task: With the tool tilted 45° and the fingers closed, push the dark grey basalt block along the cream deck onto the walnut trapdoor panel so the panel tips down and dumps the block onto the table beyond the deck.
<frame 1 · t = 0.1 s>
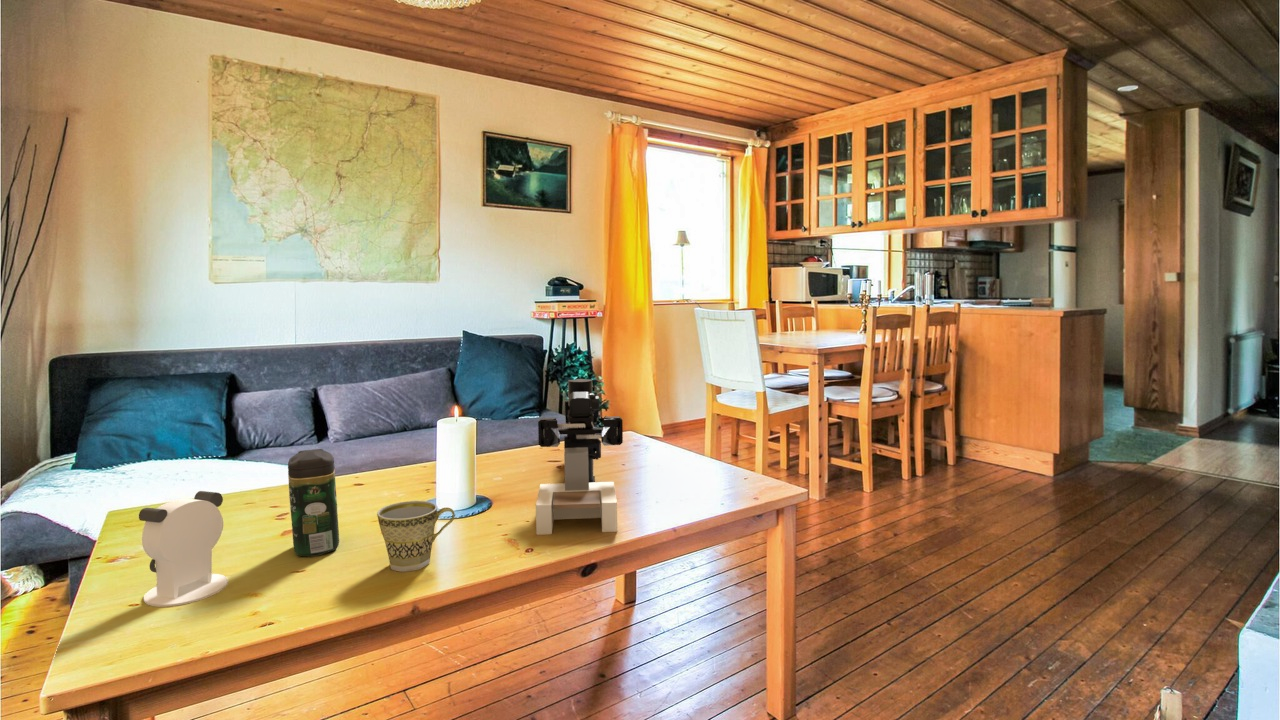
hand: (580, 439, 141), 17 cm above the table, tool horizontal, fingers open, 9 cm apart
coffee jar: (316, 549, 126), on the table
panda figurine: (189, 590, 109), on the table
deck: (577, 520, 140), on the table
stone: (576, 468, 143), point 10 cm above the table, touching deck
ceramic cup: (418, 563, 119), on the table
trapdoor: (576, 499, 136), point 6 cm above the table, hinge at 0.0°
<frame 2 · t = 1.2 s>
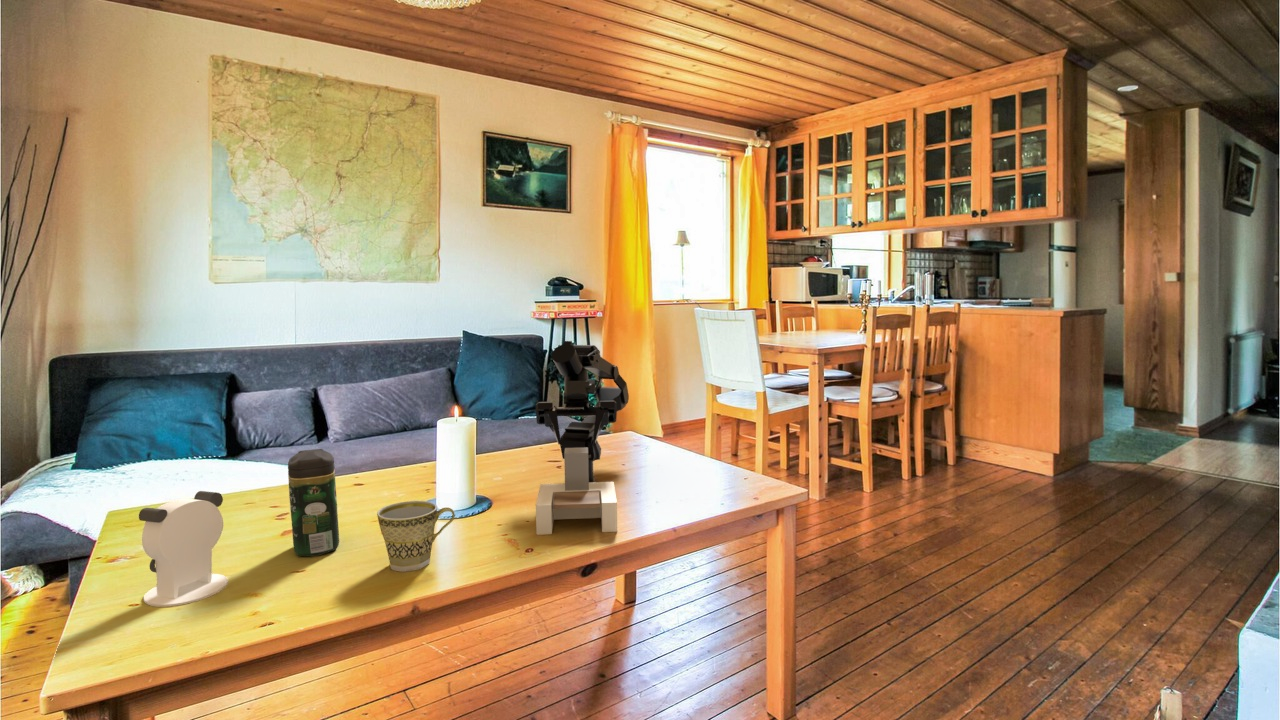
hand: (576, 443, 151), 14 cm above the table, tool tilted 45°, fingers open, 8 cm apart
nothing on the table moved.
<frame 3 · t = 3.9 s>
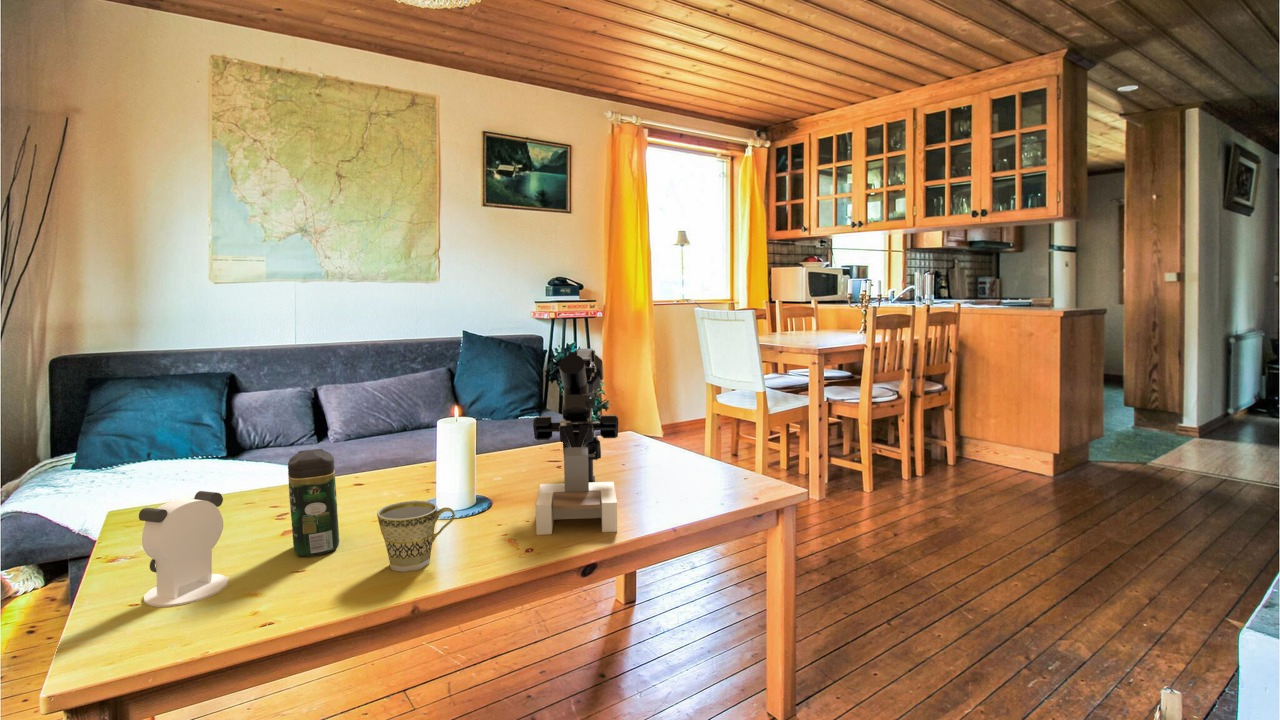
hand: (576, 459, 144), 12 cm above the table, tool tilted 45°, fingers closed, pressing on stone
stone: (576, 469, 141), point 10 cm above the table, tilted 7°, touching gripper, trapdoor
trapdoor: (576, 499, 136), point 6 cm above the table, hinge at -1.5°, touching stone
everything else where it was.
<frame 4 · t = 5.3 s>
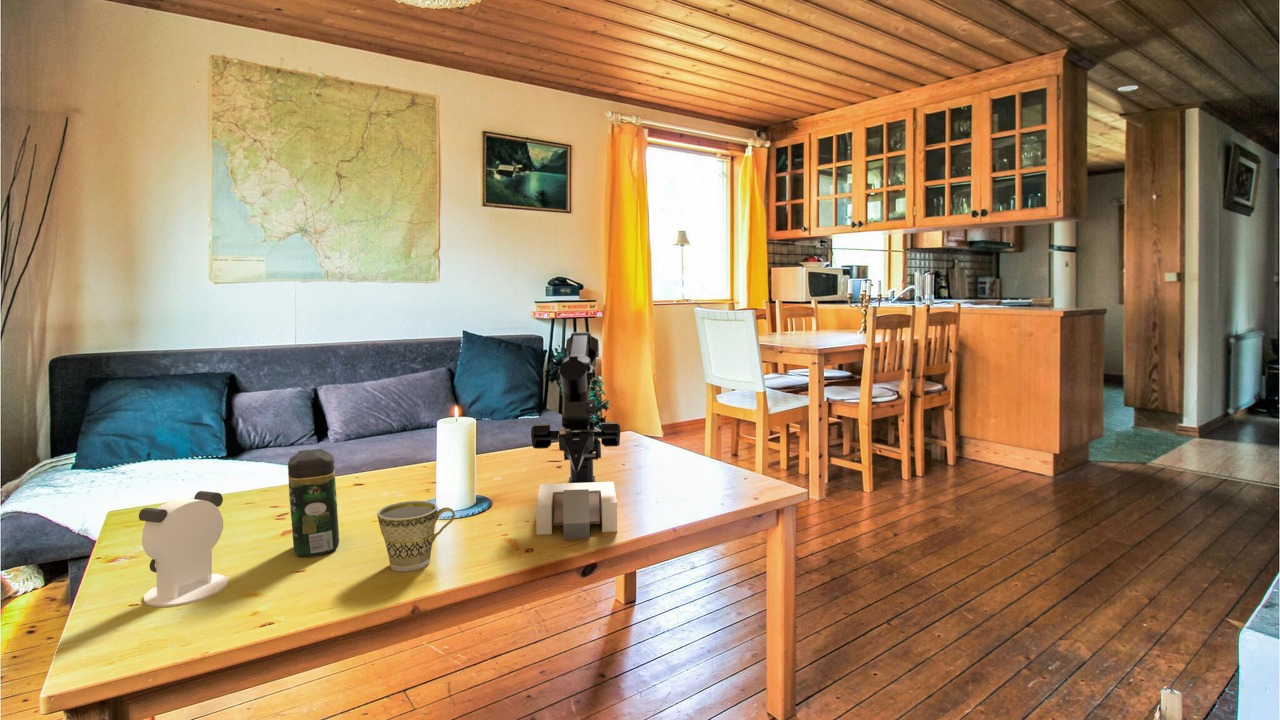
hand: (576, 470, 137), 11 cm above the table, tool tilted 45°, fingers closed
stone: (576, 513, 131), point 4 cm above the table, tilted 124°, touching trapdoor
trapdoor: (576, 507, 136), point 4 cm above the table, hinge at -26.7°, touching stone
everything else where it was.
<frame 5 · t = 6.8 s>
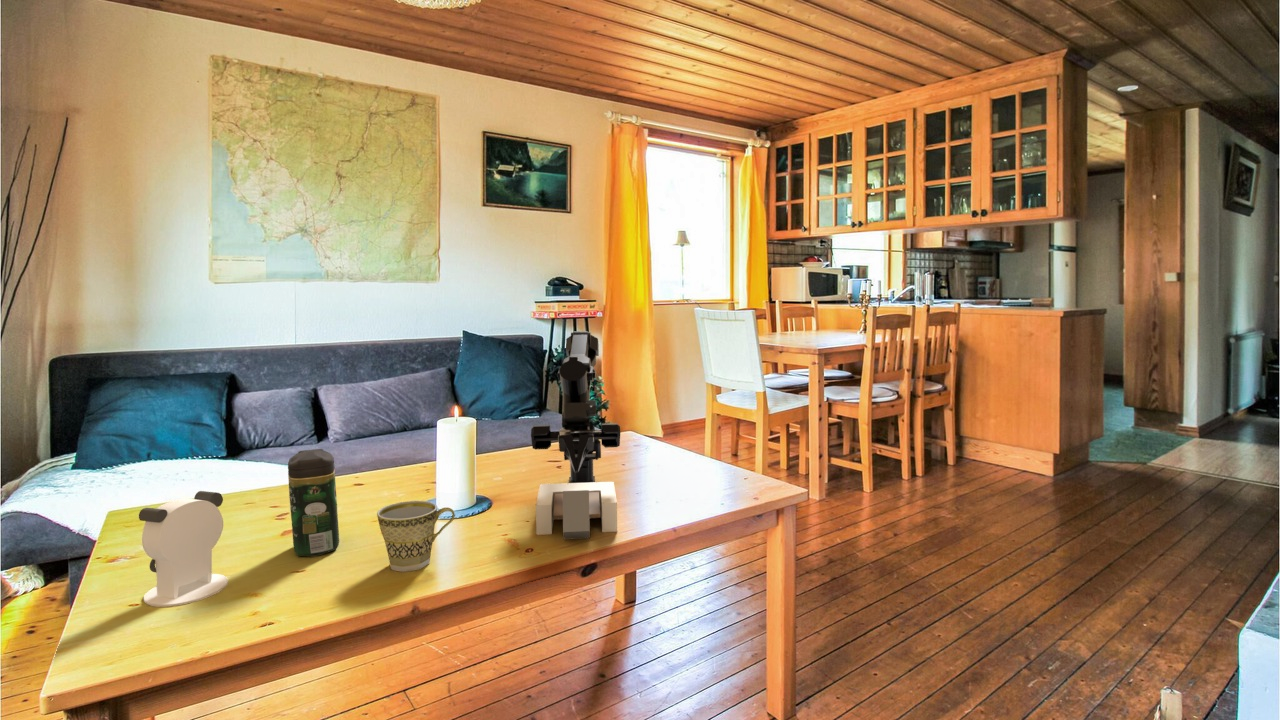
hand: (576, 471, 137), 11 cm above the table, tool tilted 45°, fingers closed
stone: (576, 514, 129), point 5 cm above the table, tilted 144°, touching trapdoor
trapdoor: (576, 504, 136), point 5 cm above the table, hinge at -15.3°, touching stone
everything else where it was.
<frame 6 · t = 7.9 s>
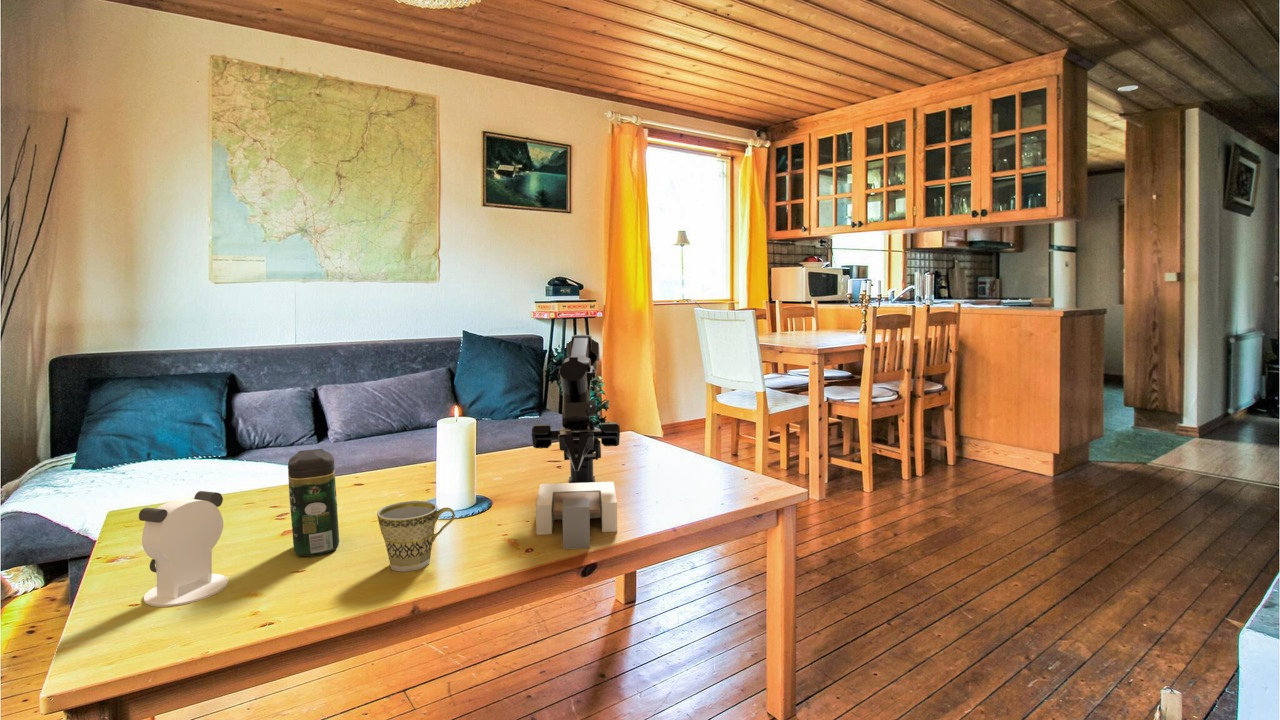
hand: (576, 470, 139), 11 cm above the table, tool tilted 45°, fingers closed
stone: (576, 523, 127), point 4 cm above the table, tilted 180°
trapdoor: (576, 502, 136), point 5 cm above the table, hinge at -8.6°
everything else where it was.
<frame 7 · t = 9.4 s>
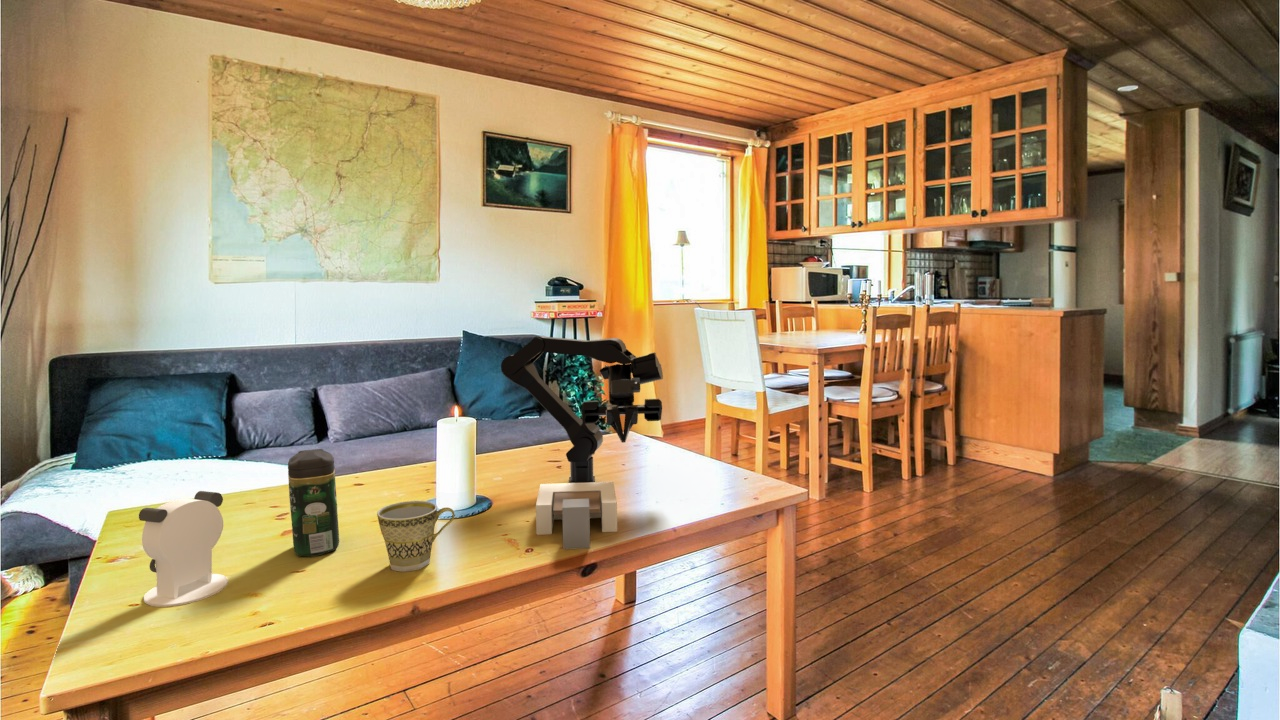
hand: (623, 441, 152), 14 cm above the table, tool tilted 45°, fingers closed
trapdoor: (576, 501, 136), point 5 cm above the table, hinge at -7.7°
everything else where it was.
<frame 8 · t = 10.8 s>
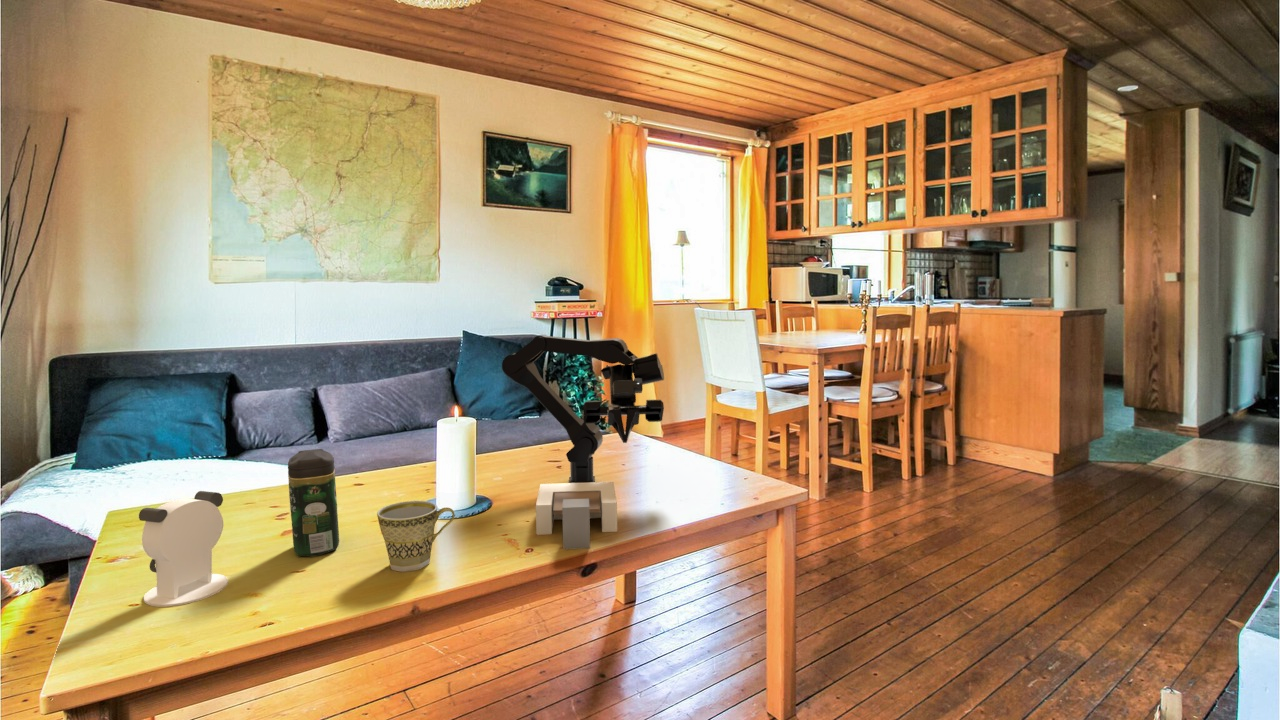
hand: (625, 441, 152), 14 cm above the table, tool tilted 45°, fingers closed
nothing on the table moved.
at the end: stone point 3.9 cm above the table; stone inside the target area (1.4 cm from its centre), point 3.9 cm above the table; stone touching table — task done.
